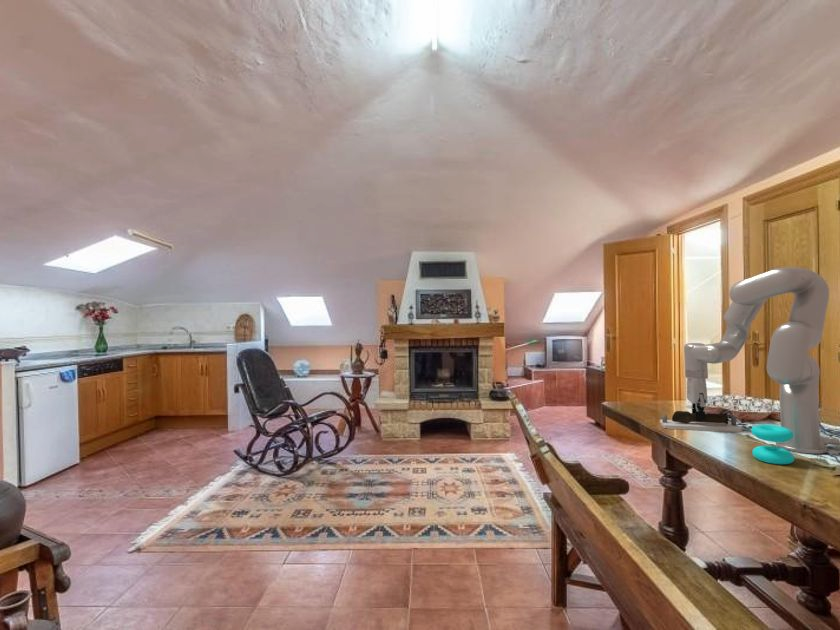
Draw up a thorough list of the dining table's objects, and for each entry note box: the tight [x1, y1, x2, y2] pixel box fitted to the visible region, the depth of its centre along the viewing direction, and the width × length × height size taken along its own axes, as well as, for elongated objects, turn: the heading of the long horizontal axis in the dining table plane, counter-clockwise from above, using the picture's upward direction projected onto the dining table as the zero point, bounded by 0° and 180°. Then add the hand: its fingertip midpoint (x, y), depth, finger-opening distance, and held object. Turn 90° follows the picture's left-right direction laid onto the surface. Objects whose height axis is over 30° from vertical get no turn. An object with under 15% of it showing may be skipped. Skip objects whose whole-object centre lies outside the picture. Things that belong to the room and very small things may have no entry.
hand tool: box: [671, 410, 729, 424], centre depth 164 cm, size 19×4×5 cm, turn 71°
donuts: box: [750, 424, 795, 465], centre depth 128 cm, size 10×10×10 cm
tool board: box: [659, 414, 743, 433], centre depth 164 cm, size 26×9×4 cm, turn 71°
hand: (698, 419), depth 164 cm, fingers open, 3 cm apart
